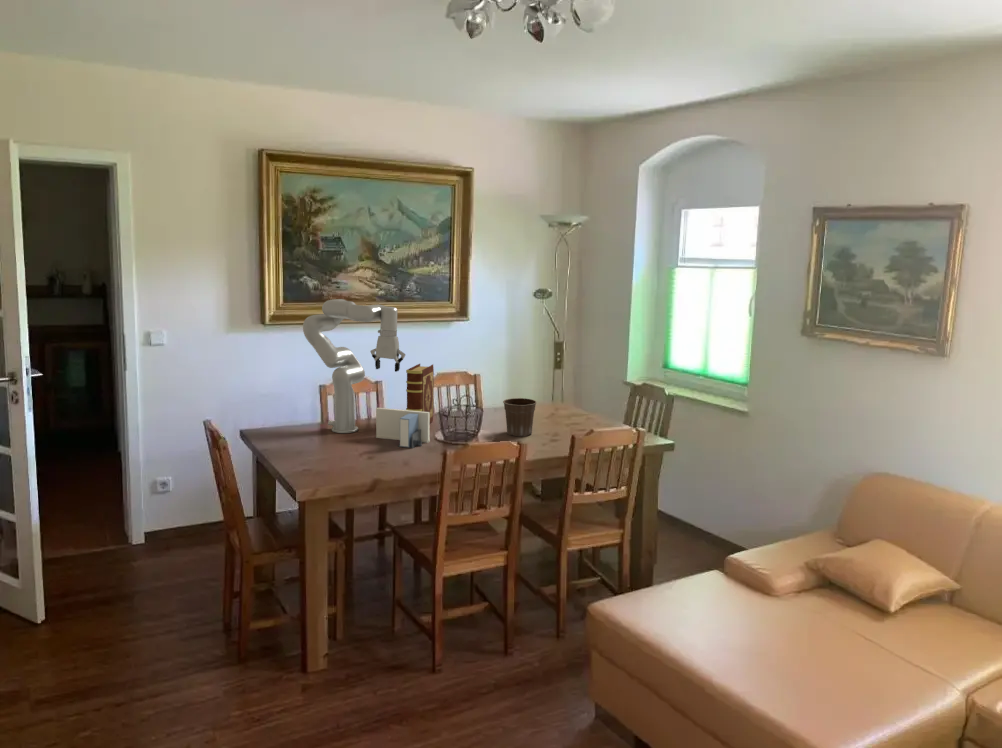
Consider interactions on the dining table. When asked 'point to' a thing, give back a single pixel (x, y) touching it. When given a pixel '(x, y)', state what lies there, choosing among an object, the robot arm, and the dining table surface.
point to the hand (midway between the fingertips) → (387, 370)
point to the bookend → (415, 439)
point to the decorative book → (420, 389)
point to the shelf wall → (391, 423)
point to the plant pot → (519, 416)
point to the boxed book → (408, 429)
